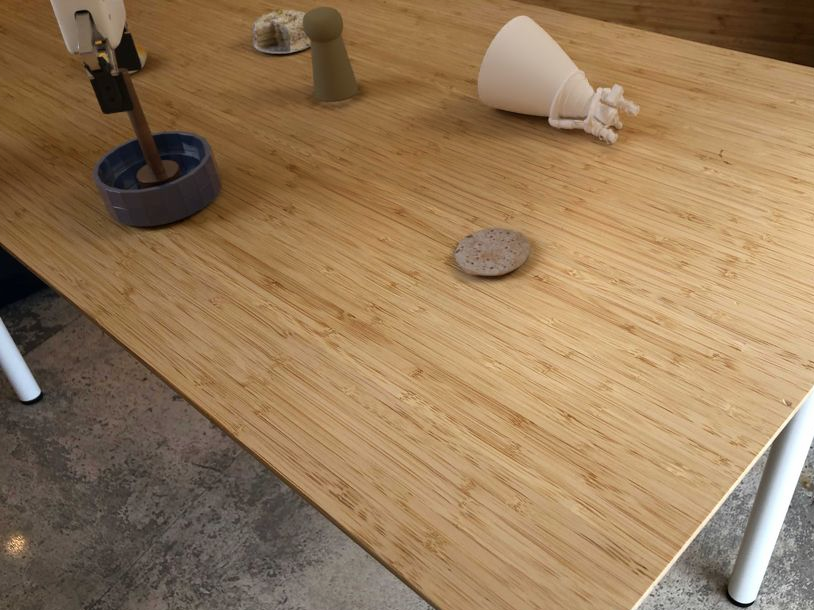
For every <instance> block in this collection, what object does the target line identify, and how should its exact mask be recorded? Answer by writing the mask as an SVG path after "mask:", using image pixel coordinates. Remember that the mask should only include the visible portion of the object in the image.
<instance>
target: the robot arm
mask: <svg viewBox="0 0 814 610" xmlns="http://www.w3.org/2000/svg"><path fill="white" fill-rule="evenodd" d="M49 1H50V4H51V6H52V9H53V13H54V15H55V18H56V21H57V24H58V26H59V29H60V32H61V35H62V38H63V41H64V43H65V47H66V49H67V51H68V52H69V54H71V55H74V56H76V55H80V56H81V58H82V60H83V61H84V62H83V67H84V69H85V71H86V74H87V78H88V79H89V83H90V84H91V87H92V90H93V92H94V95H95V97H96V100H97V102H98V105H99V108H100V111H101V112H102V114H103V115H111V114H118V113H119V114H120V113H125V112H126V113H127V111H132V110H133V109H134V103H133V100H132V98H131V95H130V92H129V89H128V86H127V84H126V81H125V78H124V75H123V73H122V72H118V69H119V68H126V69H127V70H128V72H129V71H136V70H139V71H140V70H142V69H141V67H142V64H141V61H140V58H139V55H138V52H137V50H136V47H135V44H136V43H135V41H134V38H133V35H132V33H131V32H130V28H129V25H128V22H127V19H126V18H127V13H126V12H127V11H126V8H125V2H124V0H49ZM98 41H101V42H102V43H100V44H95V43H96V42H98ZM99 53H106V56H107V58H108V62H107V61H106V59H104V58H103V56H101V57H99Z"/></svg>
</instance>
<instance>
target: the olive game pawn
mask: <svg viewBox="0 0 814 610" xmlns="http://www.w3.org/2000/svg"><path fill="white" fill-rule="evenodd" d="M303 29H304V32H305V34H306V35H307V37H308V38H309V39H310V44H311V47H310V55H311V67H312V78H313V79H312V80H313V89H314V90H313V92H314V97H315V98H316V99H318V100H319V101H323V102H340V101H344V100H347V99H349V98H351V97H353V96H354V95H355V94H357V92H358V91H359V85H358V82H357V79H356V76H355V73H354V70H353V67H352V63H351V61H350V57H349V54H348V51H347V48H346V45H345V43H344V39H343V36H342V33H343V30H344V19H343V17H342V14H341V13H340V12H339V10H338V9H337V8H334V7H331V6H320V7H314V8H312V9H309V10H308V11H307V12H305V15H304V18H303Z"/></svg>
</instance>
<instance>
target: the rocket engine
mask: <svg viewBox="0 0 814 610" xmlns="http://www.w3.org/2000/svg"><path fill="white" fill-rule="evenodd" d="M484 54H485V55H484V57H483V59H482V62H481V65H480V68H479V74H478V77H477V94H478V98H479V100H480V102H481V103H482V104H484V105H485V106H486V107H487V106H488V107H491V108H493V109H498V110H502V111H507V112H512V113H517V114H523V115H529V116H537V117H548V124H549V126H552V127H553V128H557V129H558V130H559V129H565V130H573V129H581V130H582V129H583V130H584V132H585V133H586V134H592V135H593V136H595V137H598V138H599V141H602V140H604V141H606V144H607V145H610V144H612V145H613V144H614V143H616V141H617V140H618V137H619V134H618V133H617V132H615V131H614V130H613V129H611V128H610V126H611V127H614V128H615V129H616V130H621V129H622V128H623V123H622V121H620V116H619V112H618V109H620V113H621V114H622V113H626V114H627V116H628V117H632V116H633V117H636V116H637V115H638V114H639V113H640V110H641V106H640V105H638V104H637V103H636V102H634V101H632V100H629V99H628V98H625V97H624V96H623V94H624V93H625V90H624V87H622V85H619V84H617V83H615V84H614V85H613V86H612V88H610V87H601V86H600V87H597V89H596V92H595V90H594V87H593V86H592V85H591V84H590V83H589V80H588V78H586V73H585V72H584V71H583V70H582V69H580V68H578V66H577V65H576V64H575V62H574V61H573V60H572V59H571V58H570V56H569V55H568V54H567V52H565V51H564V50H563V48H562V47H561V46H560V45H559V44H558V43H557V42H556V41H555V39H553V38H552V37H551V35H550V34H548V32H546V30H545V29H543V28H542V27H541V25H539V24H538V23H537V22H536V21H535V20H533V19H532V18H530V17H529V16H527V15H518V16H515V17H514V18H512V19H510V20H509V21H508V22H507V23H505V25H503V26H502V28H500V30H498V32H497V33H496V35H495V37H494V38H493V39H492V41H491V43H490V44H489V46H488V48H487V50H486V52H485V53H484ZM604 103H606V104H604ZM629 113H631V114H630V115H629ZM579 118H582V119H584V120H579ZM603 124H604V125H603ZM601 137H602V138H601Z"/></svg>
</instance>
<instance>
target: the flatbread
mask: <svg viewBox="0 0 814 610" xmlns="http://www.w3.org/2000/svg"><path fill="white" fill-rule="evenodd" d="M531 248H532V247H531V244H530V242H529V239H528V237H527V236H526V235H525V234H524V233H522V232H521V231H517V230H513V229H509V228H504V227H496V226H494V227H487V228H484V229H481V230H477V231H474V232H471V233H470V234H467V235H466V236H464V237H462V239H461V240H460V242H459V243H458V245H457V247H456V249H455V253H454V258H455V261H456V264H457V265H458V266H459V267H460V269H462V270H463V271H464V272H465V273H466V274H467V275H470V276H481V277H482V276H483V277H496V276H497V277H498V276H503V275H507V274H509V273H510V272H512V271H515V270H517V269H519V268H520V267H521V266H522V265H524V264H526V261H527V260H528V258H529V255H530V253H531Z"/></svg>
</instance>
